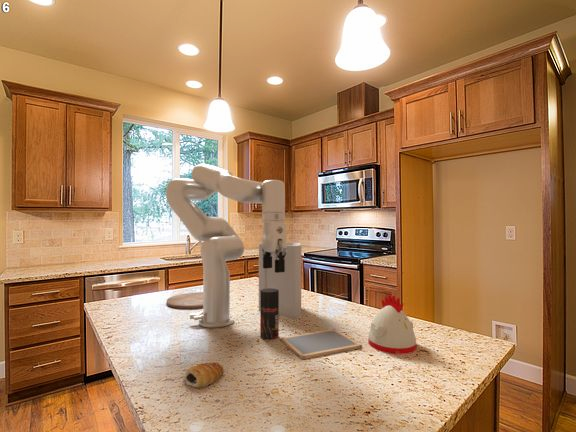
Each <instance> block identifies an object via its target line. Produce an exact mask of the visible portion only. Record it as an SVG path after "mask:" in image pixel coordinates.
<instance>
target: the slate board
mask: <svg viewBox="0 0 576 432" xmlns="http://www.w3.org/2000/svg"><path fill="white" fill-rule="evenodd" d="M280 341H281V343H282V344H284V345H285V346H286V347H287V348H288V349H289V350H290V351H292V353H293V354H295V355H296V356H297V357H298V358H299V359H300V360H306V359H311V358H316V357H320V356H321V357H322V356H325V355H326V356H327V355H332V354H337V353H343V352H347V351H352V350H356V349H362V348H363V344H361V343H360V342H358V341H355V339H352V338H351V337H349V336H348V335H346V334H344V333H342V332H340V331H339V330H337V329H335V328H333V329H327V330H321V331H315V332H309V333H307V332H306V333H301V334H296V335H289V336H283V337H280Z"/></svg>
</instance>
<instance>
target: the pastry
mask: <svg viewBox="0 0 576 432" xmlns="http://www.w3.org/2000/svg"><path fill="white" fill-rule="evenodd" d="M223 373H224V367H223V365H221V364H220V363H218V362H205V363H196V365H192V366H190V368H189V369H187V370H186V372H185V373H184V376H183V382H184V383H185V384H186V386H190V387H193V388H196V389H197V388H200V389H202V388H205V387H208V386H209V385H212V384H214V383H215V382H216V381H218V380H219V379H221V377H222V375H223Z"/></svg>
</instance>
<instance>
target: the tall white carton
mask: <svg viewBox="0 0 576 432" xmlns="http://www.w3.org/2000/svg"><path fill="white" fill-rule="evenodd" d="M262 249H263V248H262V242H261V243H260V242H259V243H258V312H260V290H262V289H267V288H273V289H278V290H279V317H283V318H287V319H292V320H296V319H298V318H301V317H302V244H301V242H287V251H286V255H285V272H280V273H276V272H275V260H276V257H275V254H274V253H272V254H271V256H272V268H265V269H264V268H263V257H264V256H263V251H262ZM278 255H279V254H278Z"/></svg>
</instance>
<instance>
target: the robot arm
mask: <svg viewBox="0 0 576 432" xmlns="http://www.w3.org/2000/svg"><path fill="white" fill-rule="evenodd" d="M191 178H192V179H190V178H184V177H183V178H181V177H180V178H179V177H178V178H174V179H171V180H170V181H169V182H167V185H166V189H165V197H166V201H167V203H168V206H169V207H170V209H171V210H172V211H173V213H175V215H176V216H177V217H178V218H179V219H180V221H181V222H182V224H183V225H184V226H185V228H186V229H187V230H188V232H189V233H190V235H191V236H192V238H194V240H196V241H197V242H202V243H201V246H200V256H201V261H202V270H203V272H202V273H203V274H202V275H203V277H202V279H203V290H202V292H203V308H201V311H199V312H197V313H189V319H190V320H194V321H198V324H199V326H200V327H204V328H210V329H211V328H213V329H215V328H223V327H226V326H227V327H228V326H230V325H232V324H233V323H234V322H235V319H234V316H232V315H230V314H231V313H230V311H231V309H230V307H231V305H230V303H231V301H230V299H231V297H230V296H231V295H230V292H231V290H230V289H231V286H230V285H231V281H230V280H231V279H230V277H231V275H230V270H229V267H228V265H227V263H226V262H230V261H235V260H238V259H240V258H241V257H242V256H243V254H244V252H245V245H244V243H243V241H242V239H241V237H240V236H239V235H238V233H237V231H235V229H234V228H233V227H232V226H231V224H230V223H229V222H228V221H227V220H226V219H224V218H222V217H219V216H207V215H206V214H205V213H204V212H203V211H202V209H201V208H200V207H199V206H198V204H196V203H195V202H193V201H198V202H199V201H205V200H207V199H209V198H210V197H211V196H213V195H214V194H216V193H219V194H220V195H221V196H223V197H224V198H227V199H230V200H233V201H236V202H239V203H243V204H245V203H247V204H258V205H259V204H261V222H262V223H263V225H262V239H261V240H262V241H261V243H262V248H263V249H262V251H263V256H264V257H263V268H264V269H265V268H272V256H271V254H272V253H274V254H275V257H276V260H275V272H276V273H280V272H285V255H286V251H287V243H288V241H287V229H286V224H285V221H286V220H285V219H286V218H285V217H286V216H285V215H286V209H285V207H286V199H285V198H286V194H285V193H286V189H285V188H286V187H285V186H286V185H285V182H284V181H283V180H278V179H269V180H268V179H267V180H264V181H263V182H262V181H256V180H251V179H245V178H241V177H237V176H235V175H233V173H232V172H231V171H230V170H227V169H224V168H223V167H220V166H218V165H212V164H207V163H200V164H198V165H195V166H194V167H193V168H192V170H191ZM278 254H279V255H278Z"/></svg>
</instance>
